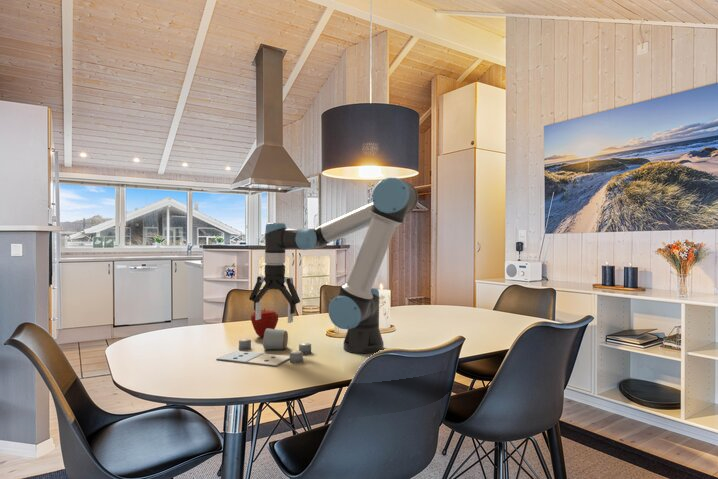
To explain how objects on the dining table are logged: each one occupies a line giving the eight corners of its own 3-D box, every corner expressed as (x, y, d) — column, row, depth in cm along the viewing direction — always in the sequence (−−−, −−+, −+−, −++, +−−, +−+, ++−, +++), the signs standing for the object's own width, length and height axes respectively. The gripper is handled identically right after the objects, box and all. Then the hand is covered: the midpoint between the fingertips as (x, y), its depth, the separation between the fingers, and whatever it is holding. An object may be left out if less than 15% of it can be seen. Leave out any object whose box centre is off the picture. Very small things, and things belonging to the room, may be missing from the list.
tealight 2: (304, 360, 151) (304, 350, 151) (299, 364, 147) (299, 354, 147) (293, 359, 153) (293, 349, 153) (287, 362, 148) (287, 352, 148)
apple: (283, 336, 187) (283, 307, 187) (265, 341, 178) (265, 311, 178) (264, 333, 193) (264, 305, 193) (245, 337, 184) (245, 308, 184)
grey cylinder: (285, 351, 162) (285, 330, 162) (262, 351, 162) (263, 330, 162) (289, 345, 173) (289, 325, 173) (268, 345, 173) (268, 325, 173)
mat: (292, 357, 154) (292, 356, 154) (276, 366, 143) (276, 365, 143) (236, 351, 162) (236, 350, 162) (216, 360, 151) (216, 358, 151)
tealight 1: (253, 347, 168) (253, 339, 168) (246, 350, 164) (246, 341, 164) (243, 346, 170) (243, 338, 170) (236, 349, 165) (236, 340, 165)
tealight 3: (313, 352, 162) (313, 343, 162) (307, 355, 158) (307, 345, 158) (302, 351, 164) (302, 342, 164) (296, 353, 160) (296, 344, 160)
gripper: (309, 264, 165) (308, 321, 166) (251, 262, 173) (250, 316, 174) (300, 266, 158) (299, 325, 159) (240, 263, 166) (239, 319, 167)
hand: (274, 320), depth 166 cm, fingers open, 13 cm apart
